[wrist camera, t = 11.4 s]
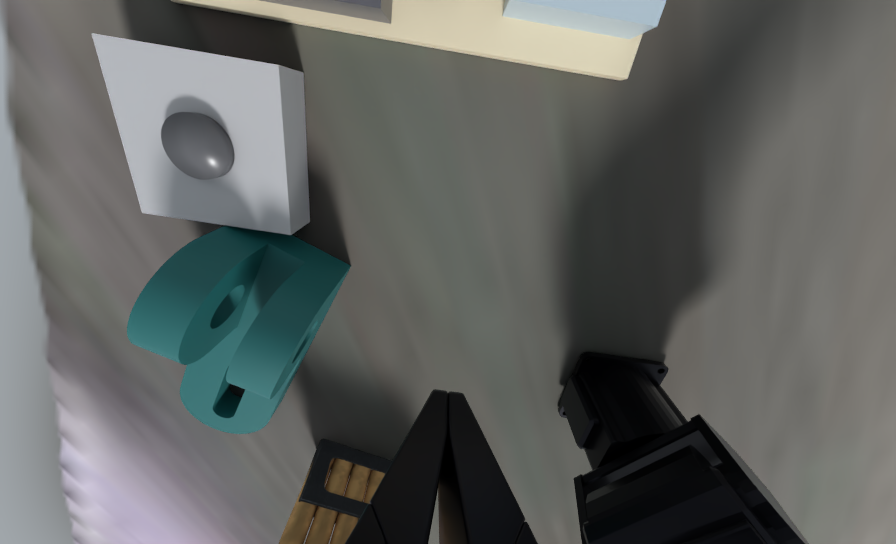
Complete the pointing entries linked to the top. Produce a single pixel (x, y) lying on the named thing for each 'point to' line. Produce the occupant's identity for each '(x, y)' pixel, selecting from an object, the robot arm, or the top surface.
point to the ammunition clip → (334, 494)
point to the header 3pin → (591, 14)
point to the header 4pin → (346, 7)
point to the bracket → (237, 319)
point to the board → (464, 33)
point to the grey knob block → (210, 134)
